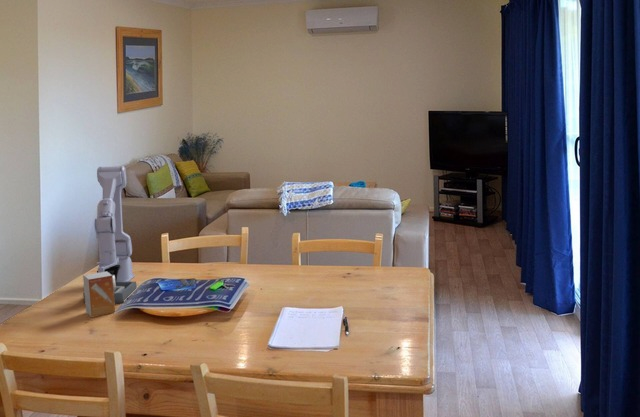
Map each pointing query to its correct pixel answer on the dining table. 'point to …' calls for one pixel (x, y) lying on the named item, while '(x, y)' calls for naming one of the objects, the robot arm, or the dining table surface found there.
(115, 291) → the bottle
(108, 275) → the small box
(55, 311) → the dining table surface
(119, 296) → the walled box
